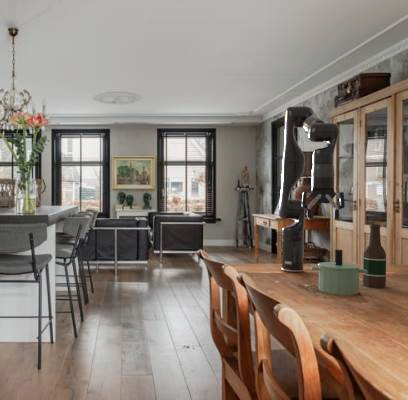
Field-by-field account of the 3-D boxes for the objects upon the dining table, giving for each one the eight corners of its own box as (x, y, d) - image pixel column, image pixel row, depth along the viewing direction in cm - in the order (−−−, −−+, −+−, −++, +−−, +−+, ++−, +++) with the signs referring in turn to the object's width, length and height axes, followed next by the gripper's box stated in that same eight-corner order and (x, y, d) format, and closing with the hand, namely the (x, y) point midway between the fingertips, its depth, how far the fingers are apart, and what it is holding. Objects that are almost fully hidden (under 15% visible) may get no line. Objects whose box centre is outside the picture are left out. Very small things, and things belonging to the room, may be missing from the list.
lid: (315, 264, 167) (316, 246, 167) (356, 266, 163) (356, 248, 163) (320, 269, 155) (320, 251, 154) (363, 272, 150) (364, 253, 150)
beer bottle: (378, 289, 164) (379, 225, 164) (358, 285, 171) (359, 224, 171) (390, 287, 168) (391, 224, 168) (370, 283, 175) (371, 223, 175)
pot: (309, 287, 168) (309, 262, 168) (362, 290, 162) (363, 265, 162) (312, 294, 156) (313, 267, 156) (370, 298, 150) (370, 270, 150)
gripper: (342, 176, 165) (342, 219, 165) (301, 177, 170) (301, 218, 170) (346, 176, 158) (345, 220, 158) (303, 176, 163) (302, 219, 163)
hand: (322, 219), depth 164 cm, fingers open, 8 cm apart
